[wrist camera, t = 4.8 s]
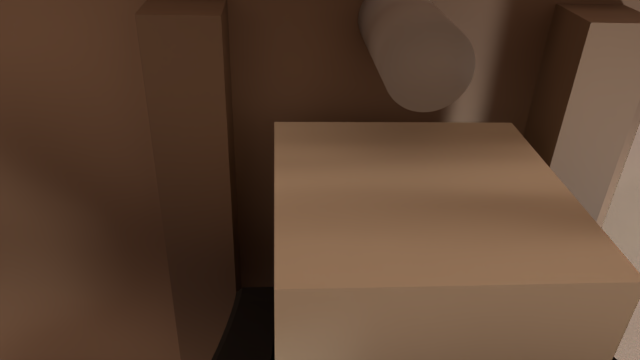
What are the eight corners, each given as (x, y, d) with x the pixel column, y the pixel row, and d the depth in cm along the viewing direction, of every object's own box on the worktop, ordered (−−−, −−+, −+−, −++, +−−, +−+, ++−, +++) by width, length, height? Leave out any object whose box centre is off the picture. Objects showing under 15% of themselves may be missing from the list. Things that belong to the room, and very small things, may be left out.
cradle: (515, 396, 16) (570, 521, 13) (-216, 424, 15) (-341, 572, 12) (658, -36, 10) (818, 13, 7) (-572, -69, 9) (-1029, -23, 6)
